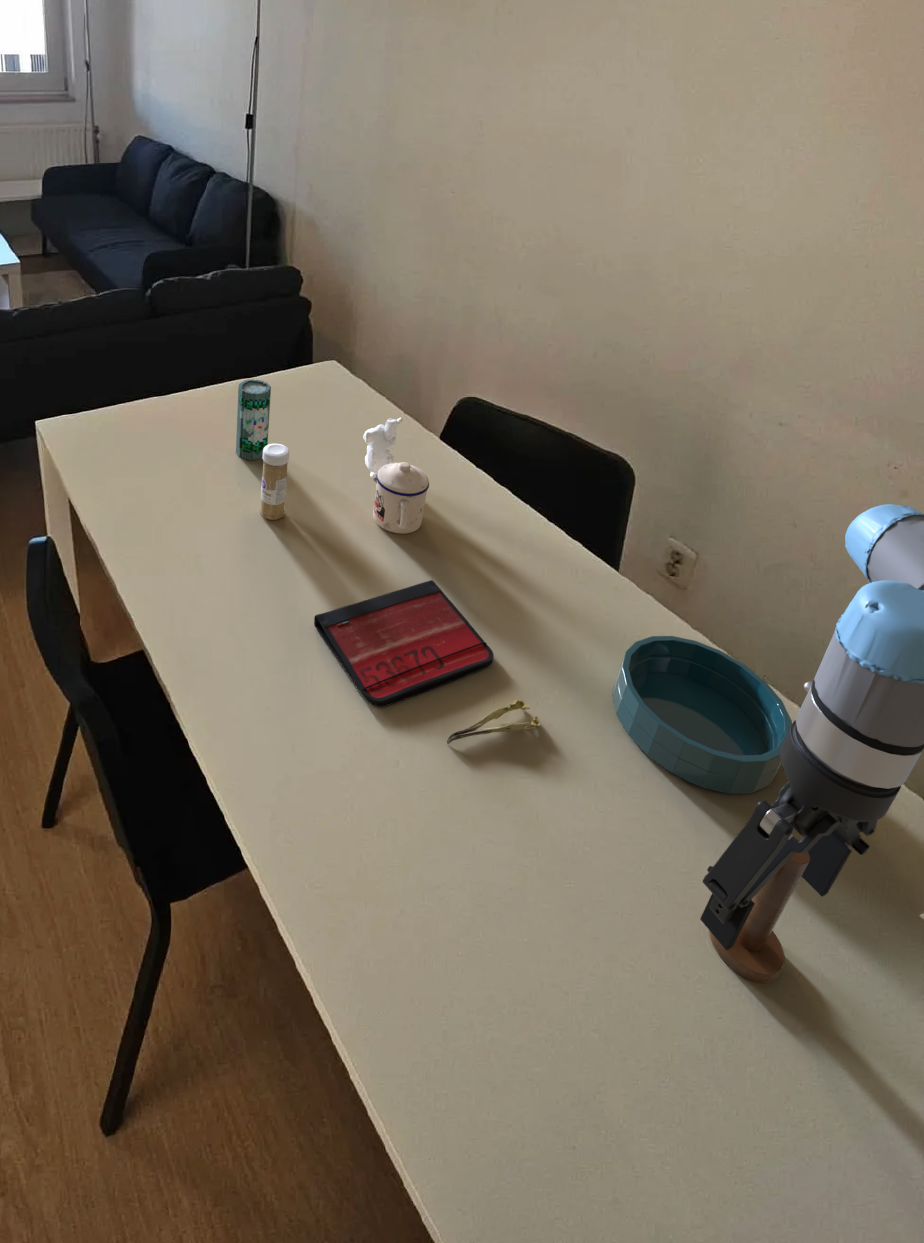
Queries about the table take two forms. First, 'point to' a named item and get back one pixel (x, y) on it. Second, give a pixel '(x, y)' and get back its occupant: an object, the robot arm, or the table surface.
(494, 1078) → the table surface
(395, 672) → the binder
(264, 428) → the can
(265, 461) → the sprinkles bottle
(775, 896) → the plunger
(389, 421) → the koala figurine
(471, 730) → the jaw bone
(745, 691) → the bowl
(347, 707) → the table surface
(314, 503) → the table surface
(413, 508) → the teacup with lid
